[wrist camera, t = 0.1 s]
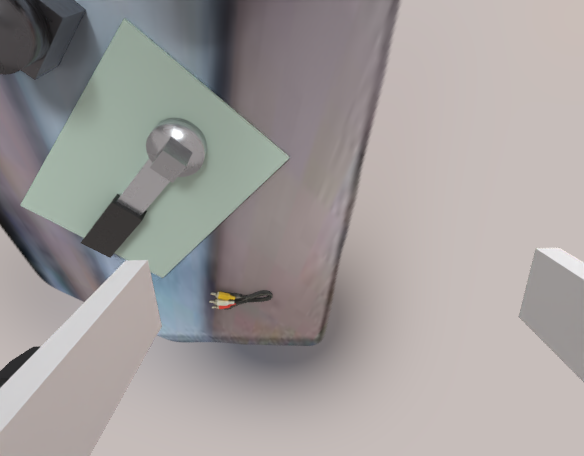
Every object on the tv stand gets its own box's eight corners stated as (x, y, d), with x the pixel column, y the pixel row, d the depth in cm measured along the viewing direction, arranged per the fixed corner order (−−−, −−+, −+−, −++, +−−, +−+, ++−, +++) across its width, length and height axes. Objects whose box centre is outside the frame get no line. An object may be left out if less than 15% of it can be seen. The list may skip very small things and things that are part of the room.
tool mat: (125, 17, 31) (123, 18, 30) (289, 156, 40) (289, 158, 39) (22, 203, 44) (20, 205, 43) (163, 276, 53) (162, 277, 52)
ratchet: (170, 105, 35) (156, 126, 32) (218, 142, 38) (210, 166, 34) (79, 229, 46) (60, 256, 42) (121, 252, 49) (107, 278, 45)
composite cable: (273, 288, 55) (272, 300, 54) (271, 306, 59) (270, 318, 57) (210, 284, 55) (208, 297, 53) (212, 303, 58) (209, 315, 56)
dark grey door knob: (5, -56, 27) (-64, -53, 22) (85, 9, 30) (42, 26, 25) (-18, 12, 30) (-83, 29, 25) (58, 66, 33) (14, 91, 28)
